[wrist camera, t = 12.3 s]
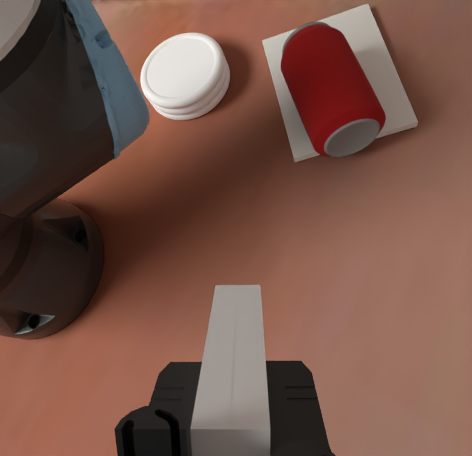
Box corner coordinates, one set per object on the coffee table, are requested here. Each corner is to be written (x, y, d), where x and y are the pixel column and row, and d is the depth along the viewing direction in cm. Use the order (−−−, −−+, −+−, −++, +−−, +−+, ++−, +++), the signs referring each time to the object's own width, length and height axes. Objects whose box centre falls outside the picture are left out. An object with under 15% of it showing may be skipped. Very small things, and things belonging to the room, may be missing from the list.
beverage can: (371, 157, 41) (328, 67, 46) (403, 108, 35) (350, 11, 40) (307, 168, 40) (269, 74, 45) (329, 119, 34) (282, 17, 39)
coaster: (160, 55, 53) (147, 34, 50) (236, 48, 50) (228, 25, 47) (144, 124, 50) (130, 106, 47) (225, 120, 47) (215, 101, 44)
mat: (417, 126, 41) (417, 121, 40) (294, 162, 43) (293, 158, 42) (367, 9, 47) (367, 3, 46) (263, 45, 49) (262, 40, 48)
